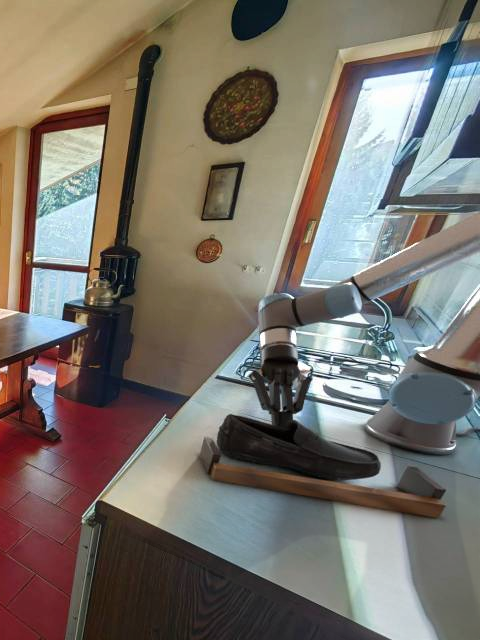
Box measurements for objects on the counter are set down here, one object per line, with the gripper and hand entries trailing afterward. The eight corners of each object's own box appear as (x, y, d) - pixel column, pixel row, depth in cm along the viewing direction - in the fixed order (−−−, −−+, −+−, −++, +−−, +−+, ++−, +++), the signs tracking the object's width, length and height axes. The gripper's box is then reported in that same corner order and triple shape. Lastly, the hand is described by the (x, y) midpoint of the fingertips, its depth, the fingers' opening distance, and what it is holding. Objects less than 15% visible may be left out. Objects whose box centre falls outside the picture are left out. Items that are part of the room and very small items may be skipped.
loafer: (384, 492, 78) (407, 448, 74) (220, 464, 86) (233, 423, 82) (355, 464, 87) (375, 424, 83) (210, 441, 96) (221, 403, 92)
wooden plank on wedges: (405, 487, 79) (416, 467, 78) (441, 518, 71) (455, 496, 69) (199, 455, 90) (204, 436, 88) (209, 479, 81) (215, 459, 79)
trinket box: (254, 380, 133) (262, 354, 129) (282, 379, 134) (291, 353, 130) (280, 393, 123) (290, 365, 119) (311, 392, 124) (321, 364, 121)
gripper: (300, 359, 100) (307, 448, 92) (242, 354, 104) (244, 438, 96) (317, 346, 94) (327, 440, 86) (255, 340, 97) (258, 430, 89)
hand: (283, 439), depth 91 cm, fingers closed
